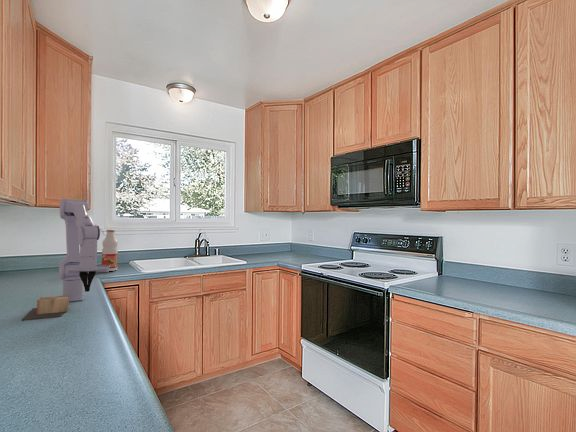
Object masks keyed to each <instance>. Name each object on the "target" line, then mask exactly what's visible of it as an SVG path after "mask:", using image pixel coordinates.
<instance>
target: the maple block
mask: <svg viewBox="0 0 576 432" xmlns="http://www.w3.org/2000/svg"><path fill="white" fill-rule="evenodd" d="M36 308H37V314H46V313H56V312H63V313H64V312H68V311H69V308H70V301H69V295H67V296H63V295H57V296H43V297H39V298H38V299H37V300H36Z"/></svg>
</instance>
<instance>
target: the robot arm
mask: <svg viewBox="0 0 576 432" xmlns="http://www.w3.org/2000/svg"><path fill="white" fill-rule="evenodd" d="M89 208H90V207H89V201H88V199H79V198H77V199H75V198H65V197H63V198H61V199H60V200H59V217H60V219H62V220H64V224H65V240H66V241H65V242H66V256H65V257H64V258H62V259H61V260H60V261H59V263H58V266H59V267H58V277H59V278H60V280H62V296H67V295H69V302H76V301H77V302H79V301H83V300H84V298H85V294H83V292H87V293H88V292H90V291H91V290H90V289H91V285H92V282H93V280H94V278H95V275H97V273H110V272H109V266H106V267H101V266H97V265H98V263H97V260H98V241H99V239H100V237H101V228H100V226H99V225H97V224H95V223H94V221H93V219H92V217H91V216H90V215H88V214H87V213H88V211H89ZM83 287H84V288H83ZM83 289H84V291H83Z"/></svg>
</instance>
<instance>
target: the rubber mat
mask: <svg viewBox="0 0 576 432" xmlns="http://www.w3.org/2000/svg"><path fill="white" fill-rule="evenodd" d="M63 314H64V312H56V313H46V314H37V307H33V308H31V310H29V312H27V314H26V315H24V317H22V319H21V321H22V322H23V321H32V320H41V318H43V319H51V318H50V317H52V318H60V317H62V315H63Z"/></svg>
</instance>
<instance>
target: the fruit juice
mask: <svg viewBox="0 0 576 432" xmlns="http://www.w3.org/2000/svg"><path fill="white" fill-rule="evenodd" d="M105 232H106V236H105V238H104V239H103V240H102V249H101V265H100V267H106V266H109V271H110V270H118V257H119V256H118V254H119V249H118V244H119V241H118V240H117V237H116V236H115V232H116V231H115V229H106V231H105Z"/></svg>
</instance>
